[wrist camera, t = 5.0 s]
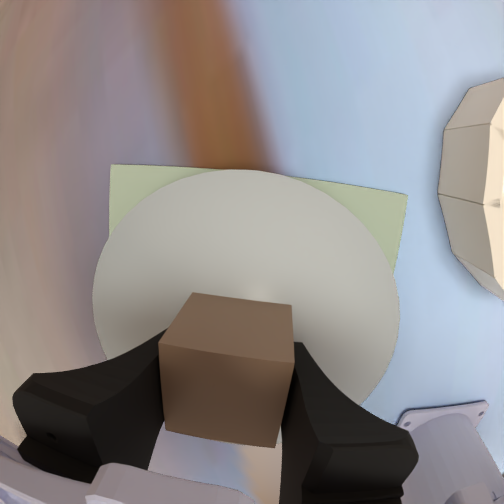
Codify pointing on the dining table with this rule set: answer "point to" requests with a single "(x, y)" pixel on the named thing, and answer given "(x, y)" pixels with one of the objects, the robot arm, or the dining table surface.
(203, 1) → the dining table surface
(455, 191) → the bowl
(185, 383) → the cover
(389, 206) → the mat
